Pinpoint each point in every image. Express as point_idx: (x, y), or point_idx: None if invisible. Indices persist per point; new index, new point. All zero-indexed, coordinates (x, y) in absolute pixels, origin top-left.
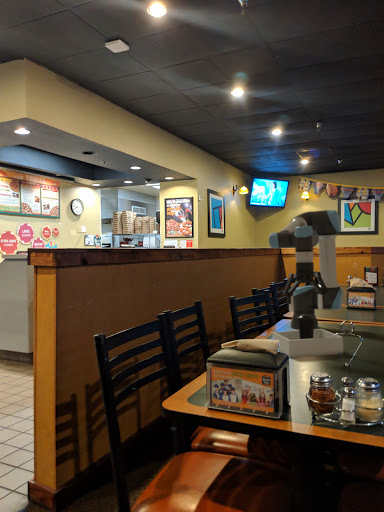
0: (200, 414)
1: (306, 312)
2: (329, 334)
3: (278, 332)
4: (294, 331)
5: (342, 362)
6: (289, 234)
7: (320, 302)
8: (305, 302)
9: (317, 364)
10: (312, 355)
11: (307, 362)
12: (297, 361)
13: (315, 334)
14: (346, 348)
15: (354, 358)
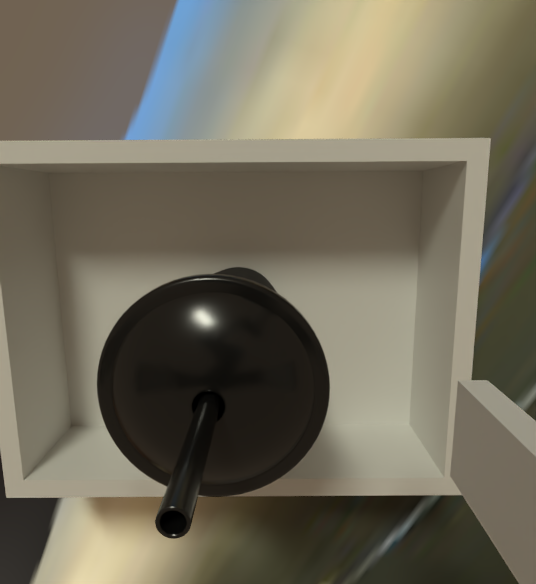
0: None
1: (214, 424)
2: (449, 322)
3: (19, 163)
4: (186, 162)
5: (310, 580)
6: None
7: (510, 550)
8: (168, 536)
9: (166, 580)
10: None
11: (131, 537)
12: (84, 508)
13: (396, 164)
14: (517, 322)
15: (416, 532)
